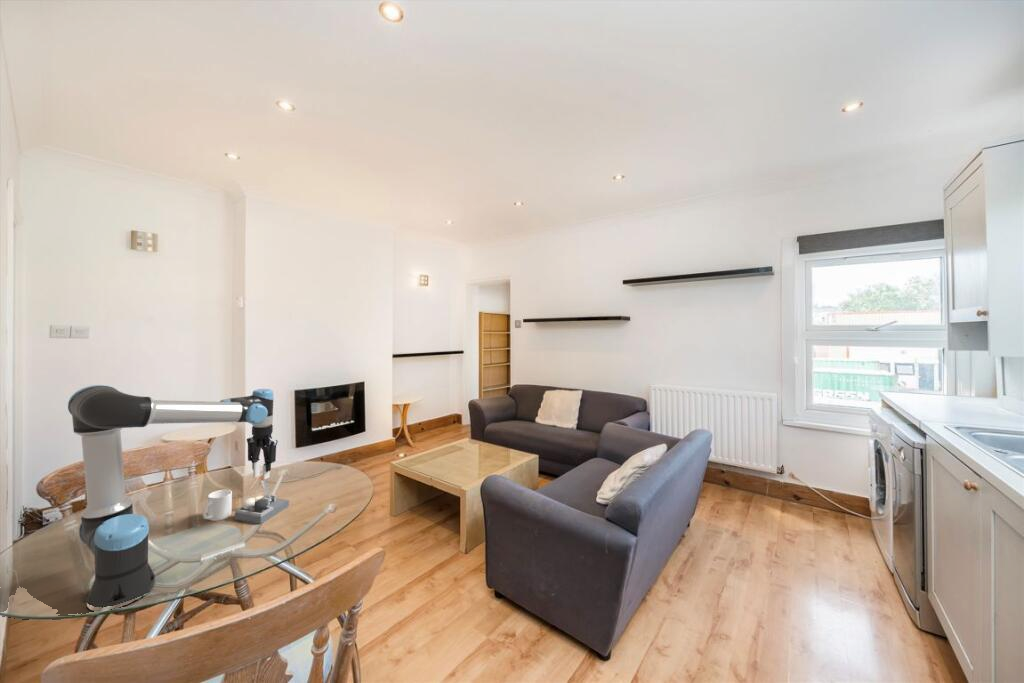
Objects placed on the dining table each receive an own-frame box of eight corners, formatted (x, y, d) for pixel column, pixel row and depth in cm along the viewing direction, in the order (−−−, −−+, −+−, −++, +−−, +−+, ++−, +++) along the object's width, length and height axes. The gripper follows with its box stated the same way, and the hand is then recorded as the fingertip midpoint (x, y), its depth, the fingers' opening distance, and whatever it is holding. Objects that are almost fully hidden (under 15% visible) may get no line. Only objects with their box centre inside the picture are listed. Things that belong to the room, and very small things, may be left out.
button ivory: (248, 509, 164) (249, 502, 164) (240, 508, 165) (240, 501, 164) (257, 504, 168) (257, 498, 168) (248, 503, 169) (248, 496, 169)
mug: (210, 527, 157) (211, 503, 156) (194, 524, 158) (194, 500, 158) (236, 513, 169) (236, 490, 168) (220, 510, 170) (220, 488, 170)
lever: (270, 502, 173) (260, 476, 173) (267, 503, 173) (258, 477, 173) (273, 500, 174) (264, 475, 175) (271, 501, 175) (261, 476, 175)
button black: (260, 511, 163) (261, 504, 163) (252, 510, 164) (252, 503, 163) (269, 506, 167) (269, 500, 167) (260, 505, 168) (260, 498, 168)
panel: (260, 524, 162) (261, 510, 161) (234, 519, 164) (235, 506, 163) (288, 506, 177) (289, 494, 177) (264, 502, 180) (265, 490, 179)
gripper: (286, 424, 165) (285, 476, 167) (252, 420, 168) (251, 471, 170) (273, 429, 158) (271, 483, 159) (237, 425, 161) (236, 478, 162)
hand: (261, 477), depth 165 cm, fingers open, 4 cm apart
